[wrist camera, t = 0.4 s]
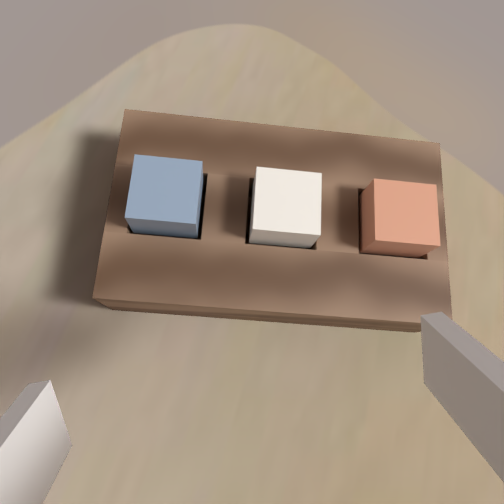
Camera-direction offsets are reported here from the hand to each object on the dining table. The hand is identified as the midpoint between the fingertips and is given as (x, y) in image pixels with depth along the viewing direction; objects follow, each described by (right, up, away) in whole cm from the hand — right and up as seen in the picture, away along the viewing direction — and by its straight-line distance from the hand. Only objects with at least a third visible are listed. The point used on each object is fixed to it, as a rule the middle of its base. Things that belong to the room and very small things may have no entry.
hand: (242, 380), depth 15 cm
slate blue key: (-6, +8, +15) cm, 18 cm away
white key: (+2, +7, +15) cm, 17 cm away
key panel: (+2, +6, +20) cm, 21 cm away
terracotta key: (+10, +6, +16) cm, 20 cm away
